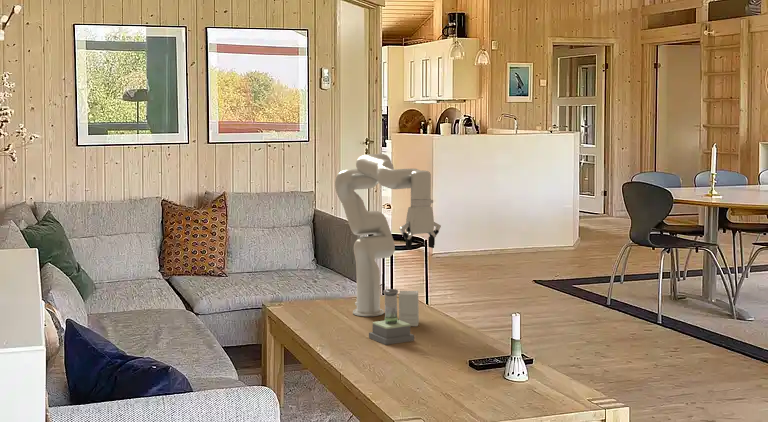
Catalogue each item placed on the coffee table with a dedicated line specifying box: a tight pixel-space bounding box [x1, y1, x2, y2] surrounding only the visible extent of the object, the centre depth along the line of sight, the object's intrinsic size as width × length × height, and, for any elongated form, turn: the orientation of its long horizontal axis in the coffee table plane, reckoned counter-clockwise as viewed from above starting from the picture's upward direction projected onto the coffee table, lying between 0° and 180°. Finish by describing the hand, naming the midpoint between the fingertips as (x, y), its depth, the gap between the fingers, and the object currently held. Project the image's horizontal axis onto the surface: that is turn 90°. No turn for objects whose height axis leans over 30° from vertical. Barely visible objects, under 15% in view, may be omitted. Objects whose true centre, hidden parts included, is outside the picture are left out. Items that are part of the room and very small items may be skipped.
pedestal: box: [368, 319, 415, 346], centre depth 354 cm, size 12×12×6 cm
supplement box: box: [398, 290, 420, 327], centre depth 377 cm, size 7×7×13 cm
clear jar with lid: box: [383, 288, 399, 324], centre depth 353 cm, size 5×5×12 cm
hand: (420, 248), depth 368 cm, fingers open, 9 cm apart
